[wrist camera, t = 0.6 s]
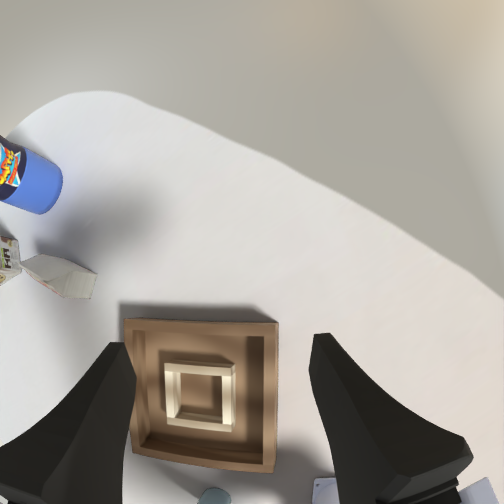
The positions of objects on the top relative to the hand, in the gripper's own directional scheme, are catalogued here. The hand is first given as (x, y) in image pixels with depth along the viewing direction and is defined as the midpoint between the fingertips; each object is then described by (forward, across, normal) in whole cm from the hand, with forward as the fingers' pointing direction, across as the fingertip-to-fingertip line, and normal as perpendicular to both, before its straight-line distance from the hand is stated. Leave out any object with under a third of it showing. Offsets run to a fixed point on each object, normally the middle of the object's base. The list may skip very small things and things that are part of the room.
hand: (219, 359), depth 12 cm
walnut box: (+17, +4, +24) cm, 29 cm away
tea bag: (+30, +22, +14) cm, 40 cm away
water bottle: (+40, +31, +3) cm, 51 cm away
